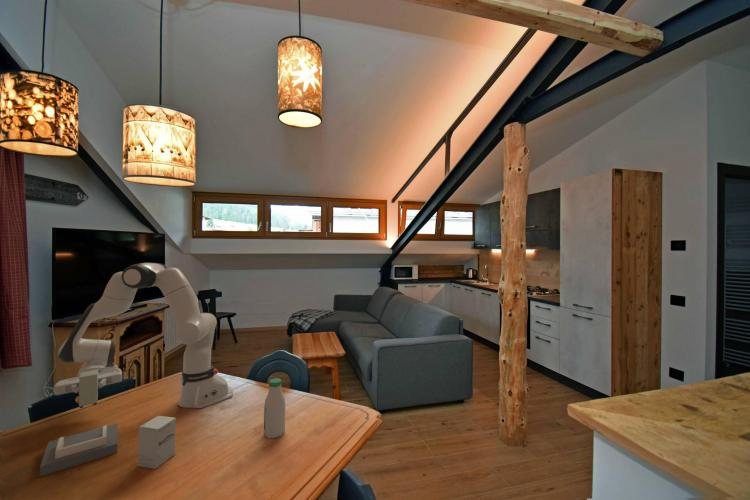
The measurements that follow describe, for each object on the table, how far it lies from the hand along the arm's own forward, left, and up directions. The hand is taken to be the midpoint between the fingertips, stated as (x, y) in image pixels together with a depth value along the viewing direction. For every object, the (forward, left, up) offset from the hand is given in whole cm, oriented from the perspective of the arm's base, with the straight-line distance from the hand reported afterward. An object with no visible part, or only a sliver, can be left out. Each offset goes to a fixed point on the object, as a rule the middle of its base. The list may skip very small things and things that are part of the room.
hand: (88, 388), depth 119 cm
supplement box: (-19, +39, -16) cm, 46 cm away
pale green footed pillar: (0, -1, -7) cm, 7 cm away
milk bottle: (-55, +48, -15) cm, 74 cm away
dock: (0, +18, -15) cm, 24 cm away
